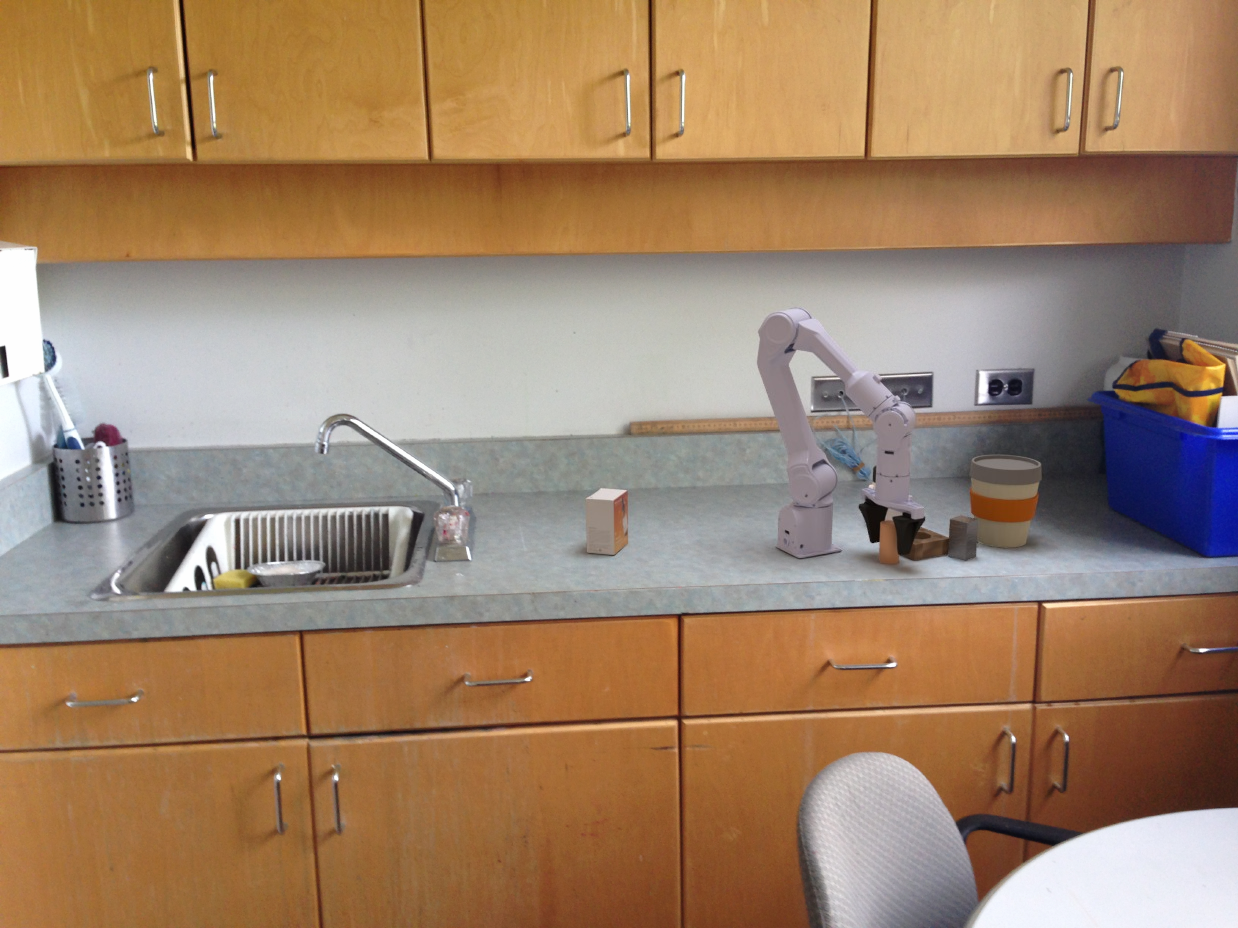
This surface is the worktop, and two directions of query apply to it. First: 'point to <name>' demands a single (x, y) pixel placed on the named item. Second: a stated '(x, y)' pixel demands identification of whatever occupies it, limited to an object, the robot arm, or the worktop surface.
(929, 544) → the bore block
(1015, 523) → the reusable coffee cup
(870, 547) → the worktop surface
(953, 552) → the square bit
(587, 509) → the small box
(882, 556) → the round bit
